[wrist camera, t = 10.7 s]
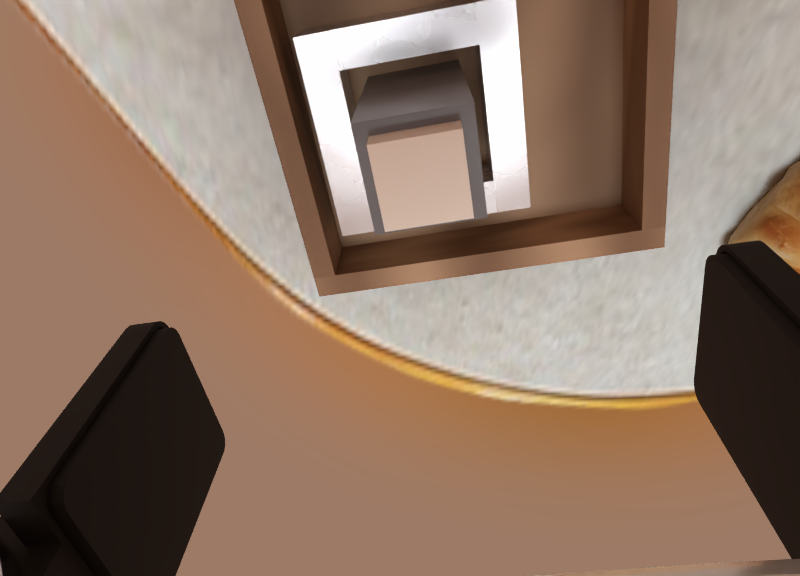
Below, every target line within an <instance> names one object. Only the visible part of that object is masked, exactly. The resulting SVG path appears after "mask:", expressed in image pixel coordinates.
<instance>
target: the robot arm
mask: <svg viewBox="0 0 800 576" xmlns="http://www.w3.org/2000/svg"><path fill="white" fill-rule="evenodd" d="M694 388H695V393H696V396H697V399H698V401H699V403H700V405H701V407H702V408H703V410H704V412H705V413H706V415H707V417H708V418H709V420H710V422H711V423H712V425H713V427H714V429H715V430H716V432H717V434H718V435H719V437H720V438H721V440H722V442H723V444H724V445H725V447H726V449H727V450H728V452H729V454H730V455H731V457H732V459H733V460H734V462H735V464H736V466H737V467H738V469H739V471H740V472H741V474H742V476H743V477H744V479H745V481H746V482H747V484H748V486H749V487H750V489H751V491H752V492H753V494H754V496H755V497H756V499H757V501H758V503H759V504H760V506H761V508H762V509H763V511H764V513H765V514H766V516H767V518H768V519H769V521H770V523H771V525H772V526H773V528H774V529H775V531H776V533H777V535H778V536H779V538H780V540H781V541H782V543H783V544H784V546H785V548H786V550H787V551H788V553H789V555H790V556H791V558H792V559H786V560H785V559H784V560H766V561H746V562H728V563H709V564H694V565H679V566H664V567H649V568H635V569H620V570H605V571H590V572H576V573H561V574H546V575H532V576H800V274H799V273H798V272H796V271H795V270H794V269H793V268H792V267H791V266H790V265H789V264H788V263H786V262H785V261H784V260H783V259H782V258H781V257H780V256H779V255H777V254H776V253H775V252H774V251H773V250H772V249H771V248H770V247H768V246H767V245H766V244H765V243H764V242H762V241H760V240H756V241H749V242H741V243H734V244H726V245H721V246H720V247H719V248H718V250H717V253H716V255H710V256H709V257H708V258H707V260H706V264H705V274H704V284H703V294H702V304H701V314H700V325H699V335H698V345H697V355H696V365H695V375H694ZM224 448H225V438H224V433H223V430H222V428H221V426H220V424H219V422H218V419H217V417H216V415H215V413H214V410H213V408H212V406H211V404H210V402H209V399H208V398H207V395H206V393H205V391H204V388H203V386H202V384H201V382H200V379H199V377H198V375H197V373H196V371H195V368H194V366H193V364H192V362H191V360H190V357H189V355H188V353H187V351H186V349H185V346H184V344H183V342H182V340H181V337H180V335H179V333H178V332H177V330H176V329H174V328H169V327H168V326H167V325H166V324H165V323H164V322H161V321H159V322H152V323H143V324H136V325H131V326H129V327H128V328H127V329H125V331H124V332H123V333H122V335H121V336H120V338H119V339H118V340H117V341H116V343H115V344H114V345H113V347H112V348H111V349H110V350H109V352H108V353H107V354H106V356H105V357H104V358H103V360H102V361H101V362H100V363H99V365H98V366H97V367H96V369H95V370H94V372H93V373H92V374H91V375H90V376H89V378H88V379H87V380H86V382H85V383H84V384H83V386H82V387H81V388H80V390H79V391H78V392H77V393H76V395H75V396H74V397H73V399H72V400H71V401H70V403H69V404H68V405H67V407H66V408H65V409H64V410H63V412H62V413H61V415H60V416H59V417H58V418H57V420H56V421H55V422H54V423H53V425H52V426H51V427H50V429H49V430H48V431H47V433H46V434H45V435H44V437H43V438H42V439H41V440H40V442H39V443H38V444H37V446H36V447H35V448H34V450H33V451H32V452H31V453H30V455H29V456H28V458H27V459H26V460H25V461H24V463H23V464H22V465H21V467H20V468H19V469H18V471H17V472H16V473H15V474H14V476H13V477H12V478H11V480H10V481H9V482H8V484H7V485H6V486H5V488H4V489H3V490H2V491H1V493H0V515H1V517H0V576H175V575H176V573H177V570H178V568H179V565H180V563H181V560H182V558H183V555H184V553H185V550H186V547H187V545H188V542H189V540H190V537H191V534H192V532H193V529H194V527H195V524H196V522H197V519H198V517H199V514H200V511H201V509H202V506H203V504H204V501H205V499H206V496H207V493H208V491H209V489H210V486H211V483H212V481H213V478H214V476H215V473H216V471H217V468H218V466H219V463H220V460H221V458H222V455H223V453H224Z"/></svg>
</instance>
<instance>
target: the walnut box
mask: <svg viewBox="0 0 800 576" xmlns="http://www.w3.org/2000/svg"><path fill="white" fill-rule="evenodd" d="M449 1H454V0H234V2H235V5H236V9H237V12H238V16H239V19H240V23H241V26H242V30H243V33H244V37H245V40H246V43H247V47H248V50H249V54H250V57H251V61H252V64H253V68H254V71H255V75H256V78H257V82H258V85H259V89H260V92H261V95H262V99H263V102H264V106H265V109H266V113H267V116H268V120H269V123H270V127H271V130H272V134H273V137H274V141H275V144H276V147H277V151H278V154H279V158H280V161H281V165H282V168H283V172H284V175H285V179H286V182H287V186H288V189H289V192H290V196H291V199H292V203H293V206H294V210H295V213H296V217H297V220H298V224H299V227H300V231H301V234H302V238H303V241H304V244H305V248H306V251H307V255H308V258H309V262H310V265H311V269H312V272H313V276H314V279H315V283H316V286H317V290H318V293H319V296H326V295H333V294H340V293H347V292H354V291H361V290H368V289H375V288H382V287H389V286H396V285H403V284H410V283H417V282H424V281H431V280H438V279H445V278H452V277H459V276H466V275H473V274H480V273H487V272H494V271H501V270H508V269H515V268H522V267H528V266H535V265H542V264H549V263H556V262H563V261H570V260H577V259H584V258H591V257H598V256H605V255H612V254H619V253H626V252H633V251H640V250H647V249H654V248H661V247H664V243H665V225H666V206H667V187H668V168H669V149H670V130H671V112H672V93H673V74H674V55H675V36H676V18H677V0H516V9H517V23H518V37H519V51H520V65H521V79H522V93H523V107H524V121H525V135H526V149H527V163H528V177H529V191H530V205H531V207H529V208H522V209H516V210H509V211H503V212H496V213H490V214H487V216H488V218H481V219H475V220H468V221H462V222H456V223H449V224H443V225H436V226H430V227H424V228H417V229H411V230H404V231H398V232H392V233H385V234H379V235H375V232H374V231H373V232H367V233H360V234H354V235H347V236H342V232H341V228H340V224H339V220H338V216H337V212H336V208H335V204H334V200H333V196H332V192H331V188H330V184H329V180H328V176H327V172H326V168H325V164H324V160H323V156H322V152H321V148H320V144H319V140H318V136H317V132H316V128H315V124H314V120H313V116H312V112H311V108H310V105H309V101H308V97H307V93H306V89H305V85H304V81H303V77H302V73H301V69H300V65H299V61H298V57H297V53H296V49H295V45H294V41H293V37H294V36H296V35H297V34H299V33H300V32H301V31H303V30H306V29H311V28H316V27H321V26H326V25H331V24H336V23H342V22H347V21H352V20H357V19H362V18H367V17H372V16H377V15H383V14H388V13H393V12H398V11H403V10H408V9H413V8H418V7H424V6H429V5H434V4H439V3H444V2H449ZM454 60H459V63H460V65H461V68H462V71H463V73H464V76H465V78H466V81H467V84H468V86H469V89H470V92H471V94H472V97H473V100H474V103H475V112H476V121H477V129H478V138H479V147H480V156H481V164H482V163H488V162H487V153H486V144H485V134H484V125H483V115H482V106H481V97H480V87H479V78H478V69H477V59H476V50H475V46H470V47H464V48H459V49H453V50H448V51H443V52H437V53H432V54H427V55H421V56H416V57H410V58H405V59H400V60H394V61H389V62H384V63H378V64H373V65H367V66H362V67H357V68H351V69H348V74H349V78H350V83H351V88H352V93H353V97H354V102H355V107H357V105H358V102H359V99H360V97H361V94H362V91H363V89H364V86H365V83H366V81H367V78H368V76H373V75H379V74H384V73H389V72H395V71H400V70H405V69H411V68H416V67H421V66H427V65H432V64H438V63H443V62H448V61H454Z"/></svg>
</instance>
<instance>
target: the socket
mask: <svg viewBox="0 0 800 576" xmlns="http://www.w3.org/2000/svg"><path fill="white" fill-rule="evenodd" d="M293 41H294V45H295V49H296V53H297V57H298V61H299V65H300V69H301V73H302V77H303V81H304V85H305V89H306V93H307V97H308V101H309V105H310V108H311V112H312V116H313V120H314V124H315V128H316V132H317V136H318V140H319V144H320V148H321V152H322V156H323V160H324V164H325V168H326V172H327V176H328V180H329V184H330V188H331V192H332V196H333V200H334V204H335V208H336V212H337V216H338V220H339V224H340V228H341V232H342V236H347V235H354V234H360V233H367V232H373V231H374V227H373V223H372V218H371V214H370V209H369V205H368V200H367V196H366V191H365V187H364V182H363V178H362V173H361V169H360V164H359V160H358V155H357V151H356V146H355V142H354V137H353V133H352V128H351V121H352V118H353V116H354V113H355V110H356V107H355V102H354V97H353V93H352V88H351V83H350V78H349V74H348V69H351V68H357V67H362V66H367V65H373V64H378V63H384V62H389V61H394V60H400V59H405V58H410V57H416V56H421V55H427V54H432V53H437V52H443V51H448V50H453V49H459V48H464V47H470V46H475V50H476V59H477V69H478V78H479V87H480V97H481V106H482V115H483V125H484V134H485V144H486V153H487V162H488V163H482V173H483V182H484V190H485V199H486V208H487V214H490V213H496V212H503V211H509V210H516V209H522V208H529V207H531V205H530V191H529V177H528V163H527V149H526V135H525V121H524V107H523V93H522V79H521V65H520V51H519V37H518V23H517V9H516V0H454V1H449V2H444V3H439V4H434V5H429V6H424V7H418V8H413V9H408V10H403V11H398V12H393V13H388V14H383V15H377V16H372V17H367V18H362V19H357V20H352V21H347V22H342V23H336V24H331V25H326V26H321V27H316V28H311V29H306V30H303V31H301V32H300V33H299V34H297V35H296V36H294V37H293Z"/></svg>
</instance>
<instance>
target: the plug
mask: <svg viewBox="0 0 800 576" xmlns="http://www.w3.org/2000/svg"><path fill="white" fill-rule="evenodd" d="M351 128H352V133H353V137H354V142H355V146H356V151H357V155H358V160H359V164H360V169H361V173H362V178H363V182H364V187H365V191H366V196H367V200H368V205H369V209H370V214H371V218H372V223H373V227H374V232H375V235H379V234H385V233H392V232H398V231H404V230H411V229H417V228H424V227H430V226H436V225H443V224H449V223H456V222H462V221H468V220H475V219H481V218H488V216H487V208H486V199H485V190H484V182H483V173H482V164H481V156H480V147H479V138H478V129H477V121H476V112H475V103H474V100H473V97H472V94H471V92H470V89H469V86H468V84H467V81H466V78H465V76H464V73H463V71H462V68H461V65H460V63H459V60H454V61H448V62H443V63H438V64H432V65H427V66H421V67H416V68H411V69H405V70H400V71H395V72H389V73H384V74H379V75H373V76H368V78H367V81H366V83H365V86H364V89H363V91H362V94H361V97H360V99H359V102H358V105H357V107H356V110H355V113H354V116H353V118H352V121H351Z"/></svg>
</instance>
